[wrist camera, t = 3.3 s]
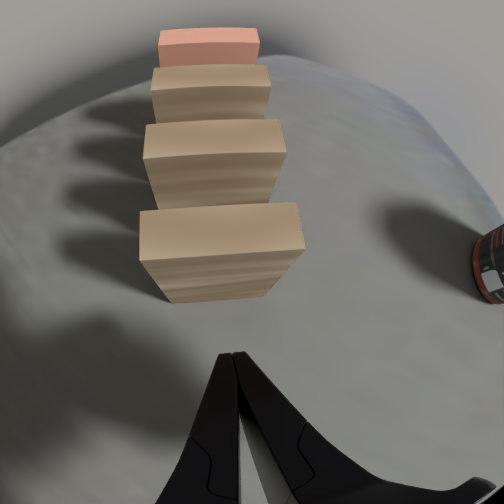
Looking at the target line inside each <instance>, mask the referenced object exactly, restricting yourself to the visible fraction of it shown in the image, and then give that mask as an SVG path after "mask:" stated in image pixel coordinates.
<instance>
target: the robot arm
mask: <svg viewBox="0 0 504 504" xmlns="http://www.w3.org/2000/svg"><path fill="white" fill-rule="evenodd" d="M239 415H240V419H241V423H242V426H243V429H244V432H245V435H246V439H247V442H248V445H249V448H250V451H251V454H252V457H253V460H254V463H255V466H256V469H257V472H258V475H259V478H260V481H261V484H262V487H263V489H264V492H265V495H266V498H267V501H268V503H269V504H476V503H477V502H478V501H480V500H481V499H482V498H484V497H485V496H486V495H488V494H489V493H490V492H491V491H493V490H494V489H495V488H496V485H495V484H493V483H492V482H490V481H488V480H485V479H482V478H478V477H473V478H471V479H469V480H468V481H466V482H465V483H463V484H462V485H460V486H458V487H457V488H454V489H451V490H446V491H437V490H430V489H424V488H418V487H413V486H408V485H403V484H399V483H394V482H390V481H386V480H383V479H380V478H378V477H376V476H374V475H372V474H371V473H369V472H368V471H366V470H365V469H364V468H362V467H361V466H359V465H358V464H357V463H355V462H354V461H353V460H351V459H350V458H349V457H347V456H346V455H345V454H343V453H342V452H341V451H339V450H338V449H337V448H336V447H334V446H333V445H332V444H331V443H330V442H328V441H327V440H326V439H325V438H324V437H323V436H322V435H321V434H320V433H319V432H318V431H317V430H316V429H315V428H314V427H313V426H312V425H311V424H310V423H309V422H307V420H306V419H305V418H304V417H303V416H302V415H301V414H300V413H299V411H298V410H297V409H296V408H295V407H294V406H293V405H292V404H291V403H290V402H289V401H288V399H287V398H286V397H285V396H284V395H283V394H282V393H281V392H280V391H279V390H278V388H277V387H276V386H275V385H274V384H273V383H272V382H271V381H270V379H269V378H268V377H267V376H266V375H265V374H264V373H263V371H262V370H261V369H260V368H259V367H258V366H257V365H256V363H255V362H254V361H253V360H252V359H251V358H250V356H249V355H248V354H247V353H246V352H244V351H242V352H234V353H233V354H231V353H222V354H219V355H218V357H217V360H216V362H215V365H214V368H213V371H212V373H211V376H210V379H209V382H208V384H207V387H206V390H205V393H204V395H203V398H202V401H201V404H200V406H199V409H198V412H197V415H196V417H195V420H194V423H193V426H192V428H191V431H190V434H189V437H188V439H187V442H186V444H185V447H184V450H183V452H182V454H181V457H180V459H179V461H178V463H177V465H176V467H175V469H174V471H173V473H172V475H171V477H170V479H169V480H168V482H167V484H166V486H165V487H164V489H163V491H162V493H161V494H160V496H159V498H158V500H157V501H156V503H155V504H241V470H240V423H239ZM480 504H504V485H503V486H502V487H501V488H499V489H498V490H497V491H496V492H495V493H493V494H492V495H491V496H489V497H488V498H487V499H486V500H484V501H483V502H482V503H480Z"/></svg>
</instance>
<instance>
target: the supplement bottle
mask: <svg viewBox="0 0 504 504" xmlns="http://www.w3.org/2000/svg"><path fill="white" fill-rule="evenodd" d="M472 263H473V270H474V276H475V279H476V282H477V285H478V287H479V289H480V291H481V292H482V294H483V295H484V296H485V298H486V299H487V300H489V301H490V302H491V303H494V304H504V224H503V225H501V226H499V227H497V228H496V229H494V230H492V231H490V232H489V233H487V234H486V235H484V236H482V237H481V238H480V239H479V240H478V241H477V242H476V244H475V247H474V250H473V260H472Z"/></svg>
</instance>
